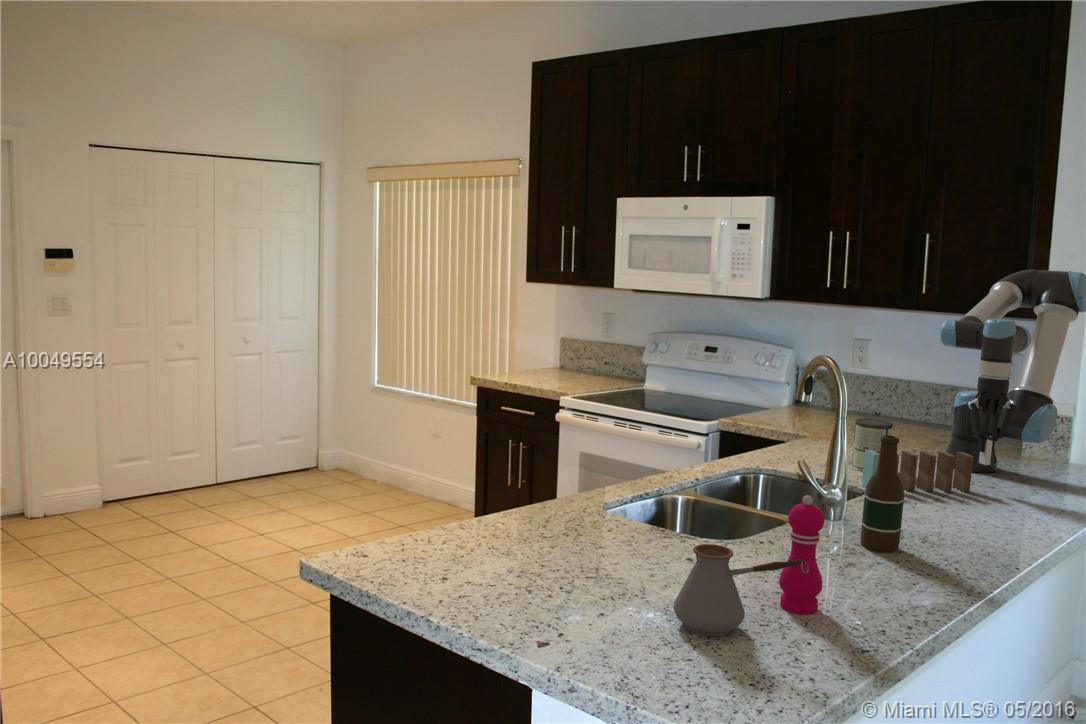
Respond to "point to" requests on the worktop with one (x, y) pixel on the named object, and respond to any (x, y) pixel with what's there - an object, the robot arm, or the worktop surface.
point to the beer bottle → (883, 502)
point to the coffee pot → (716, 591)
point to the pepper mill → (804, 541)
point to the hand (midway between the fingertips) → (984, 463)
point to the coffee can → (868, 438)
